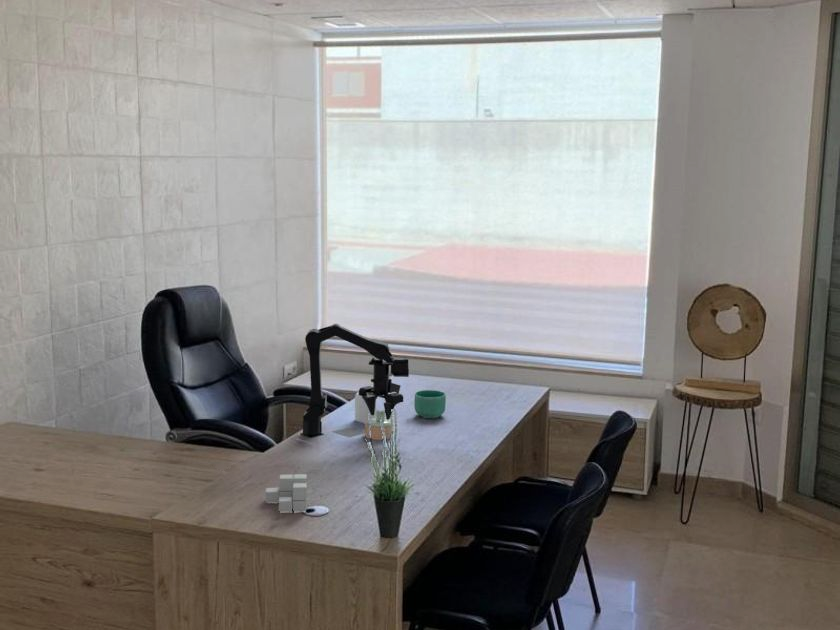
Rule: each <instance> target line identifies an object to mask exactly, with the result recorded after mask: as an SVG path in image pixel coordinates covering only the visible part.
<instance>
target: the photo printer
mask: <svg viewBox="0 0 840 630" xmlns="http://www.w3.org/2000/svg"><path fill="white" fill-rule="evenodd" d="M362 397H363V396H360V395H359V391H358V392H356V394H355V395H354V421H356V422H359V423H361V424H364V425H365V423H366V422H367V420H368V412H369V414H370V419H372V418H376V411H377V400H376V401H375V413H374V415H373V416H372V415H371V413H370V411H369V409H368V407H367V405H366V403H365V401H364V399H363V398H362Z"/></svg>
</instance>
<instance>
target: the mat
mask: <svg viewBox="0 0 840 630" xmlns="http://www.w3.org/2000/svg"><path fill="white" fill-rule="evenodd" d="M331 432H332V433H334V434H338V435H341V436H345V437H347V438H352V437H356V436H360V435H365V429H364V430H363V429H360V428H357V427H354V426H349V427H344V428H341V429H336V430H332V431H331Z"/></svg>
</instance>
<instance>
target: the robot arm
mask: <svg viewBox="0 0 840 630" xmlns="http://www.w3.org/2000/svg"><path fill="white" fill-rule="evenodd" d="M334 337H337V338H339V339H341V340H344V341H346V342H347V343H350V344H352V345H354V346H357V347H359V348H361V349H363V350H365V351H366V352H367V353H368V354H370V355H371V356H373V357H372V358H371V359H370V360H369V361H368V366H373V369H372V370H373V374H372V375H373V377H372V378H371V379H370V382H371V383H373V384H372V385H373V386H371V385H367V386H362V387H360V388H359V389H358V392H359V395H360V396H363V397H362V398H363V399H364V401H365V403H366V405H367V407H368V409H369V411H370V413H371V415H372V416H373V415H374V413H375V401H376V402H377V399H378V398H382V399H384V401H385V402H383V407H384V408H383V410H385V418H386V419H387V420H389V419H391V416H392V413H393V411H392V412H391V409H393V410H394V409H395V406H396V405H397V404H398V405H399V404H401V403H403V402H404V395H403V394H401V393H400V390H401V385H400V384H396V383H393V381H392V379H391V378H390V375H392V376H393V377H395V378H396V377H397V378H398V377H399V378H400V377H401V378H409V376H410V375H409V373H410V372H409V371H410V369H409V367H410V365H409V358H407V357H406V358H395V356H394V355H393V354H392V352H391V351H390V347H389V344H388V343H386V342H385V341H381V340H378V339H372V338H368V337H367V336H363V335H362V334H359V333H357V332H355V331H352V330H350V329H348V328H346V327H344V326H341V325H340V324H338V323H334V324H331V325H329V326H325V327H321V328H320V329H318V328H312V329H309V331H308V332H307V333H306V335H305V338H304V340H305V341H304V342H305V344H306V349H307V353H308V356H309V369H310V372H309V373H310V389H311V391H310V398H309V406H308V408H307V409H306V410H305V411H304V412H303V413H304V414H303V415H302V418H303V419H302V432H300V433H299V435H300V436H304V437H307V438H311V439H312V438H315V437H320V436H324V435H325V434H324V433H323V432H322V431H323V429H322V428H323V427H322V424H323V423H322V418H321V417H323V415H324V413H325V411H326V409H327V407H328V401H327V397H328V394H324V392H323V389H322V385H323V384H322V371H321V370H322V367H321V366H322V365H321V351H322V350H321V349H322V344H323V342H324V341H326V340H329V339H331V338H334Z"/></svg>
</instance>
